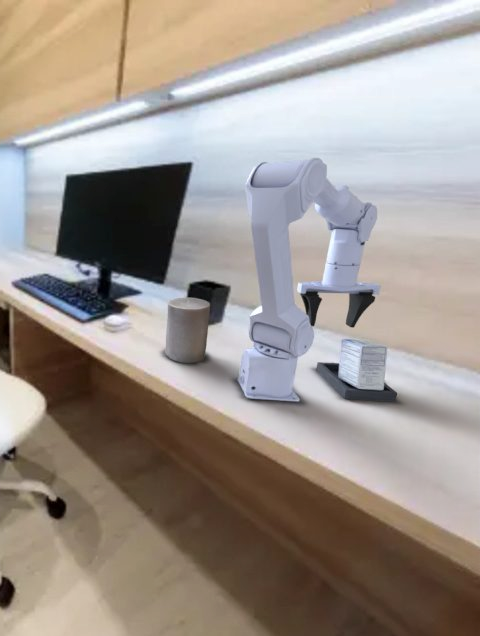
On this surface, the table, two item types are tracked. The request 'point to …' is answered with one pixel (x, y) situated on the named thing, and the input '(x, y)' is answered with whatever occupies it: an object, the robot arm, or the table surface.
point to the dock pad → (351, 392)
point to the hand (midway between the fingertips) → (329, 325)
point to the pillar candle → (187, 329)
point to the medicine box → (363, 363)
